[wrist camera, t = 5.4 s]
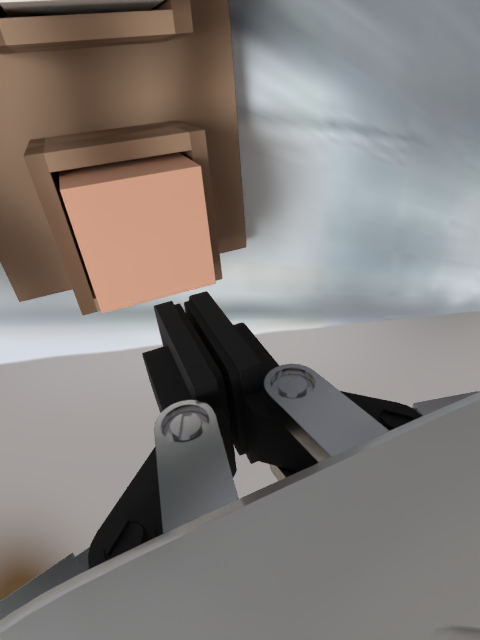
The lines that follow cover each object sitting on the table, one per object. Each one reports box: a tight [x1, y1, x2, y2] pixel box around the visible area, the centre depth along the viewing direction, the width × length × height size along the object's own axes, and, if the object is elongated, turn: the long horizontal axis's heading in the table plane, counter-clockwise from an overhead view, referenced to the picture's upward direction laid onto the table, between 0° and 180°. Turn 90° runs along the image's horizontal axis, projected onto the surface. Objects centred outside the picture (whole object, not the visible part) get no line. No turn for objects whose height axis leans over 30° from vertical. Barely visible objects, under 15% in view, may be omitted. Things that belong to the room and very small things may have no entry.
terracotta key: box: [59, 152, 216, 313], centre depth 20 cm, size 6×6×5 cm
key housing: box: [0, 0, 246, 315], centre depth 19 cm, size 16×22×7 cm
